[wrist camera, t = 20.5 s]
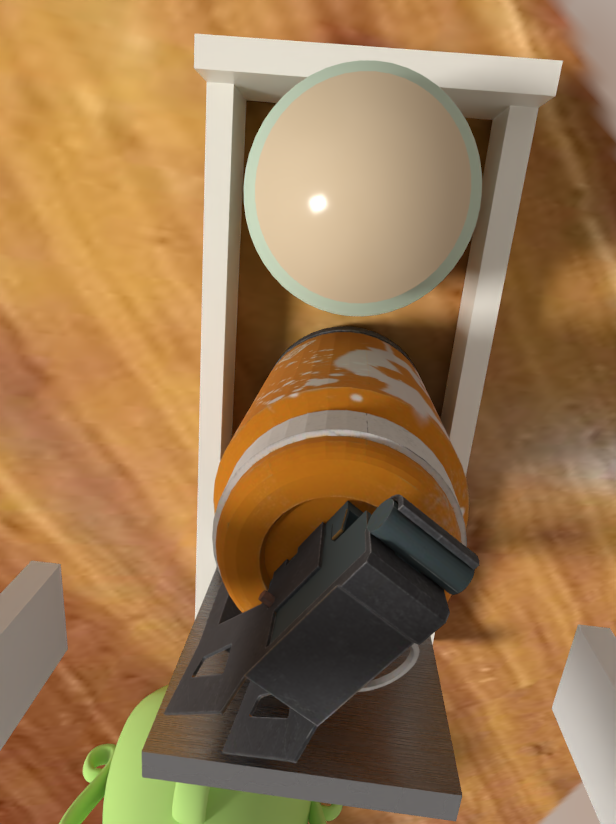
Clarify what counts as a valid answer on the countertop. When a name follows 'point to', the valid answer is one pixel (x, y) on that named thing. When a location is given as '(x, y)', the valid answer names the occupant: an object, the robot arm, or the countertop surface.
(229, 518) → the canister
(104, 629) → the countertop surface
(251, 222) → the jar
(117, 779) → the teapot
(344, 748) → the panel
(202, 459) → the white rectangular frame
